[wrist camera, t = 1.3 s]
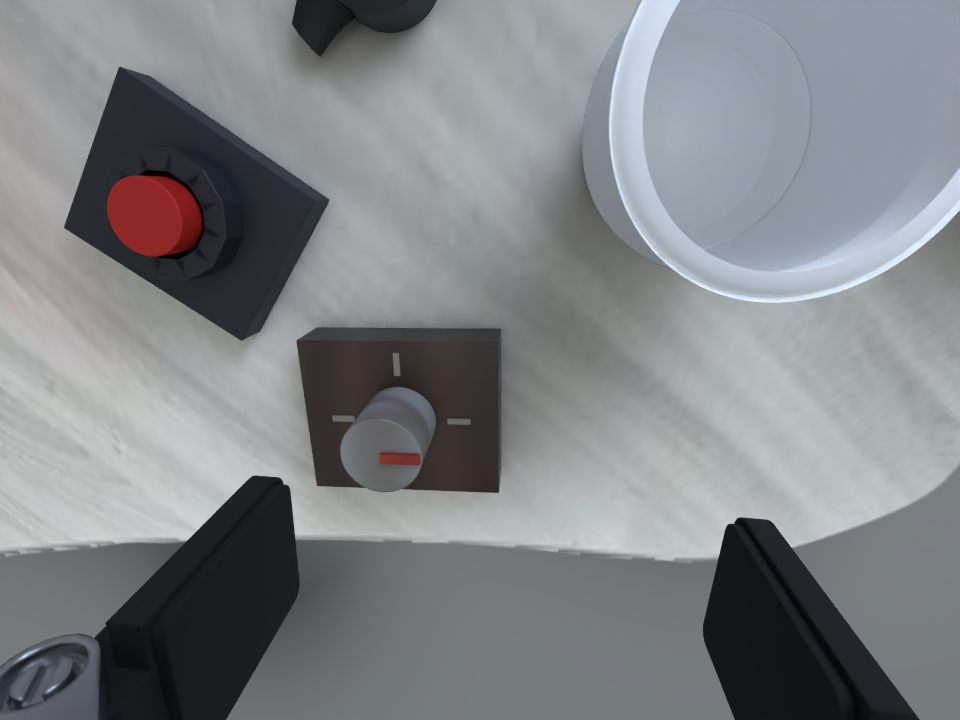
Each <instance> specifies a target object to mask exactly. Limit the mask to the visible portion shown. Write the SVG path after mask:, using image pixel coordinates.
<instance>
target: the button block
mask: <svg viewBox="0 0 960 720" xmlns="http://www.w3.org/2000/svg"><path fill="white" fill-rule="evenodd" d="M133 175H141V176H161V177H167V178H170V179H173V180H175V181H177V182H178V183H180V184H181V185H183V186H184V187H185V188H186V189H187V190H188V191H189V192H190V193H191V194H192V195H193V197H194V198H195V200H196V202H197V204H198V206H199V209H200V212H201V217H202V229H201V233H200V236H199V238H198V240H197V241H196V243H195V244H194V245H193V246H192V247H191V248H189V249H188V250H186V251H184V252H180V253H175V254H169V255H163V256H156V257H153V256H145V255H142V254H139V253H137V252H135V251H133V250H131V249H130V248H129V247H127V246H126V245H125V244H124V243H123V242H122V241H121V240H120V239H119V238H118V236H117V235H116V234H115V232H114V230H113V228H112V226H111V224H110V221H109V218H108V213H107V201H108V196H109V193H110V191H111V189H112V188H113V186H114V185H115V184H116V183H117V182H118V181H120V180H121V179H123V178H125V177H128V176H133ZM328 202H329V199H327V198H326V197H324V196H323V195H322V194H320V193H319V192H317V191H316V190H314V189H313V188H311V187H310V186H308V185H307V184H306V183H304V182H303V181H301V180H300V179H298V178H297V177H295V176H294V175H292V174H291V173H290V172H288V171H287V170H285V169H284V168H282V167H281V166H279V165H278V164H276V163H275V162H274V161H272V160H271V159H269V158H268V157H266V156H265V155H263V154H262V153H260V152H259V151H258V150H256V149H255V148H253V147H252V146H250V145H249V144H247V143H246V142H244V141H243V140H242V139H240V138H239V137H237V136H236V135H234V134H233V133H231V132H230V131H228V130H227V129H226V128H224V127H223V126H221V125H220V124H218V123H217V122H215V121H214V120H212V119H211V118H210V117H208V116H207V115H205V114H204V113H202V112H201V111H199V110H198V109H196V108H195V107H194V106H192V105H191V104H189V103H188V102H186V101H185V100H183V99H182V98H180V97H179V96H178V95H176V94H175V93H173V92H172V91H170V90H169V89H167V88H166V87H164V86H163V85H162V84H160V83H159V82H157V81H156V80H154V79H153V78H151V77H150V76H148V75H144V74H141V73H138V72H135V71H132V70H128V69H125V68H122V67H119V69H118V72H117V74H116V77H115V80H114V83H113V86H112V89H111V92H110V95H109V98H108V101H107V104H106V106H105V109H104V112H103V115H102V118H101V121H100V124H99V127H98V130H97V133H96V136H95V139H94V141H93V144H92V147H91V150H90V153H89V156H88V159H87V162H86V165H85V168H84V171H83V173H82V176H81V179H80V182H79V185H78V188H77V191H76V194H75V197H74V200H73V203H72V206H71V208H70V211H69V214H68V217H67V220H66V223H65V226H64V228H65V229H67V230H68V231H70V232H71V233H73V234H75V235H76V236H78V237H79V238H81V239H82V240H84V241H86V242H87V243H89V244H90V245H92V246H93V247H95V248H97V249H98V250H100V251H101V252H103V253H104V254H106V255H108V256H109V257H111V258H112V259H114V260H115V261H117V262H119V263H120V264H122V265H123V266H125V267H126V268H128V269H130V270H131V271H133V272H134V273H136V274H137V275H139V276H141V277H142V278H144V279H145V280H147V281H148V282H150V283H152V284H153V285H155V286H156V287H158V288H159V289H161V290H163V291H164V292H166V293H167V294H169V295H170V296H172V297H174V298H175V299H177V300H178V301H180V302H181V303H183V304H185V305H186V306H188V307H189V308H191V309H192V310H194V311H196V312H197V313H199V314H200V315H202V316H203V317H205V318H207V319H208V320H210V321H211V322H213V323H214V324H216V325H218V326H219V327H221V328H222V329H224V330H225V331H227V332H229V333H230V334H232V335H233V336H235V337H236V338H238V339H240V340H244V339H246V338H248V337H250V336H252V335H254V334H256V333H258V332H259V331H260V330H261V328H262V326H263V324H264V322H265V320H266V319H267V317H268V315H269V313H270V311H271V309H272V307H273V305H274V304H275V302H276V300H277V298H278V296H279V294H280V292H281V290H282V288H283V287H284V285H285V283H286V281H287V279H288V277H289V275H290V273H291V271H292V270H293V268H294V266H295V264H296V262H297V260H298V258H299V256H300V255H301V253H302V251H303V249H304V247H305V245H306V243H307V241H308V239H309V238H310V236H311V234H312V232H313V230H314V228H315V226H316V224H317V223H318V221H319V219H320V217H321V215H322V213H323V211H324V209H325V207H326V206H327V204H328Z"/></svg>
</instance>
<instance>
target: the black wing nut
mask: <svg viewBox="0 0 960 720" xmlns="http://www.w3.org/2000/svg"><path fill="white" fill-rule="evenodd" d="M435 2H436V0H297V1H296V6H295V11H294V16H293V21H292V25H293V26H294V28H295V29H296V31H297V32H298V33H299V35H300V36H301V37H302V39H303V40H304V41H305V42H306V43H307V44H308V45H309V46H310V47H311V49H312V50H314V51H315V52H316V53H317V54H318V55H319V56H320V57H321V55H322V54H323V52H324V51H325V49H326V48H327V47H328V45H329V44H330V43H331V41H332V40H333V39H334V38H335V36H336V35H337V34H338V33H339V32H340V31H341V30H342V29H343V28H344V27H345V26H346V25H347V24H348V23H349V22H350V21H352V20H353V19H355V18H356V19H357V20H358V21H359V22H361V23H362V24H363V25H365V26H367V27H369V28H371V29H373V30H376V31H379V32H385V33H395V32H401V31H404V30H407V29H409V28H411V27H413V26H415V25H416V24H418V23H419V22H420V21H421V20H423V19H424V18H425V17H426V15H427V14H428V13H429V12H430V10H431V9H432V7H433V6H434V4H435Z"/></svg>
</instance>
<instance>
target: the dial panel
mask: <svg viewBox="0 0 960 720" xmlns="http://www.w3.org/2000/svg"><path fill="white" fill-rule="evenodd" d="M297 347H298V354H299V361H300V368H301V376H302V383H303V390H304V397H305V404H306V411H307V418H308V425H309V432H310V439H311V447H312V454H313V461H314V468H315V475H316V482H317V486H333V487H359V488H366V487H363V486H362V485H360V484H359V483H357V482H356V481H355V480H354V479H353V478H351V476H350V475H349V474H348V473H347V471H346V470H345V468H344V466H343V463H342V460H341V455H340V448H341V442H342V439H343V437H344V435H345V433H346V432H347V431H348V429H349V428H350V427H351V425H352V424H353V423H354V421H355V420H356V419H357V417H358V416H359V415H360V413H361V412H362V411H363V409H364V408H365V407H366V405H367V404H368V403H369V401H370V400H371V399H372V398H373V397H374V396H375V395H376V394H377V393H379V392H380V391H382V390H384V389H387V388H392V387H403V388H408V389H411V390H414V391H416V392H417V393H419V394H421V395H422V396H423V397H424V398H425V399H426V400H427V401H428V402H429V403H430V405H431V406H432V408H433V411H434V413H435V417H436V428H435V432H434V435H433V438H432V440H431V443H430V445H429V448H428V451H427V453H426V456H425V458H424V461H423V464H422V466H421V469H420V471H419V473H418V475H417V477H416V478H415V479H414V480H413V482H412V483H410V484H409V485H408V486H406V487H404V488H402V489H412V490H439V491H465V492H492V493H499V486H500V476H501V329H437V328H315V329H314V330H312V331H311V332H309V333H308V334H306V335H304V336H303V337H301V338H300V339H298V340H297Z"/></svg>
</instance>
